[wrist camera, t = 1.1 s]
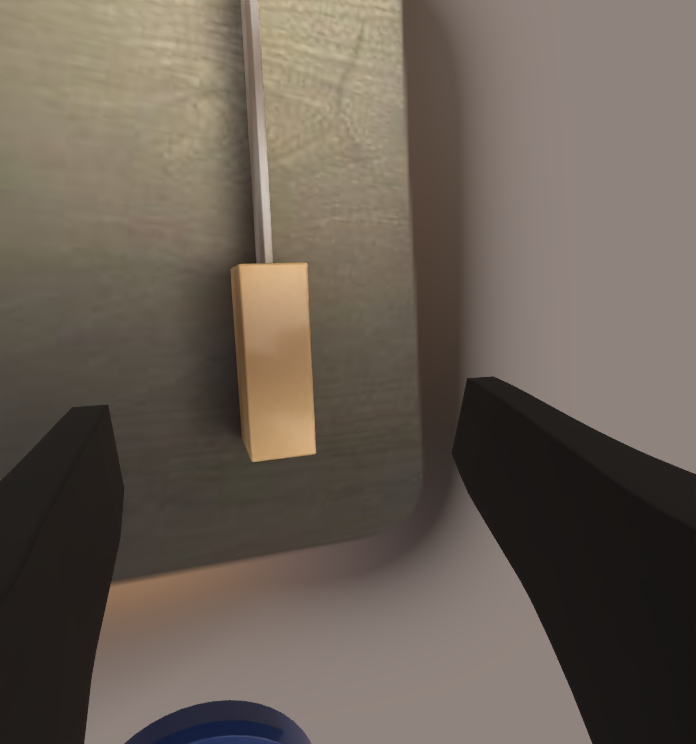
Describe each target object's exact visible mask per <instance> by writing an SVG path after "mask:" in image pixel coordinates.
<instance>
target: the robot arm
mask: <svg viewBox="0 0 696 744" xmlns="http://www.w3.org/2000/svg"><path fill="white" fill-rule="evenodd" d="M452 455H453V458H454V460H455V463H456V465H457V468H458V470H459V473H460V475H461V478H462V480H463V482H464V484H465V487H466V489H467V491H468V493H469V495H470V497H471V499H472V500H473V502H474V504H475V506H476V507H477V509H478V511H479V512H480V514H481V516H482V518H483V519H484V521H485V523H486V524H487V526H488V528H489V529H490V531H491V533H492V534H493V536H494V538H495V539H496V541H497V543H498V544H499V546H500V548H501V549H502V551H503V553H504V554H505V556H506V558H507V559H508V561H509V563H510V564H511V566H512V568H513V569H514V571H515V573H516V574H517V576H518V578H519V579H520V581H521V583H522V585H523V587H524V588H525V590H526V592H527V594H528V596H529V598H530V600H531V602H532V604H533V606H534V608H535V610H536V612H537V614H538V617H539V619H540V621H541V623H542V625H543V627H544V629H545V631H546V634H547V636H548V638H549V640H550V642H551V644H552V647H553V649H554V651H555V654H556V656H557V658H558V660H559V663H560V665H561V667H562V670H563V672H564V674H565V677H566V679H567V681H568V684H569V686H570V688H571V691H572V693H573V695H574V698H575V701H576V703H577V705H578V708H579V711H580V713H581V716H582V718H583V721H584V723H585V726H586V728H587V731H588V733H589V736H590V739H591V741H592V744H696V474H694V473H691V472H688V471H686V470H684V469H681V468H679V467H676V466H674V465H671V464H669V463H666V462H664V461H662V460H659V459H657V458H654V457H652V456H650V455H647V454H645V453H643V452H640V451H638V450H636V449H634V448H632V447H630V446H628V445H625V444H623V443H621V442H619V441H617V440H615V439H613V438H611V437H609V436H607V435H605V434H603V433H601V432H599V431H597V430H595V429H593V428H591V427H589V426H587V425H585V424H583V423H581V422H579V421H578V420H576V419H574V418H572V417H570V416H568V415H566V414H565V413H563V412H560V411H559V410H557V409H555V408H554V407H552V406H550V405H548V404H546V403H544V402H543V401H541V400H539V399H537V398H535V397H533V396H532V395H530V394H528V393H526V392H524V391H522V390H520V389H518V388H517V387H514V386H513V385H511V384H509V383H506V382H504V381H502V380H500V379H498V378H495V377H481V378H468V379H467V382H466V387H465V392H464V397H463V402H462V407H461V412H460V417H459V421H458V426H457V431H456V436H455V441H454V446H453V450H452ZM123 498H124V485H123V480H122V475H121V470H120V464H119V459H118V454H117V449H116V443H115V438H114V433H113V428H112V423H111V417H110V412H109V407H108V405H97V406H84V407H72V408H71V409H70V410H69V411H68V412H67V413H66V414H65V415H64V416H63V417H62V418H61V419H60V420H59V421H58V422H57V423H56V424H55V426H54V427H53V428H52V429H51V430H50V431H49V432H48V433H47V434H46V435H45V436H44V437H43V438H42V439H41V440H40V441H39V443H38V444H37V445H36V446H35V447H34V448H33V449H32V450H31V451H30V452H29V453H28V454H27V455H26V456H25V457H24V458H23V459H22V460H21V461H20V462H19V463H18V464H17V465H16V466H15V467H14V468H13V469H12V470H11V471H10V472H9V473H8V474H7V475H6V476H5V477H4V478H3V479H2V480H1V481H0V744H84V740H85V730H86V722H87V713H88V704H89V695H90V685H91V678H92V672H93V666H94V660H95V654H96V649H97V644H98V640H99V635H100V630H101V626H102V621H103V617H104V611H105V607H106V602H107V598H108V593H109V589H110V584H111V580H112V575H113V570H114V565H115V561H116V556H117V551H118V546H119V541H120V535H121V524H122V512H123Z"/></svg>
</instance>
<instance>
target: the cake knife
mask: <svg viewBox="0 0 696 744" xmlns="http://www.w3.org/2000/svg"><path fill="white" fill-rule="evenodd" d="M240 1H241V18H242V34H243V50H244V67H245V83H246V100H247V116H248V132H249V149H250V165H251V182H252V198H253V215H254V231H255V247H256V264H239V265H237V266H235V267H233V268H231V270H230V272H231V286H232V301H233V316H234V330H235V345H236V360H237V374H238V389H239V403H240V418H241V433H242V439H243V441H244V444H245V446H246V449H247V451H248V454H249V456H250V459H251V461H252V462H256V461H264V460H272V459H280V458H289V457H297V456H305V455H313V454H316V440H315V418H314V397H313V375H312V354H311V332H310V311H309V289H308V268H307V263H305V262H300V263H273V251H272V233H271V216H270V198H269V180H268V162H267V144H266V127H265V109H264V91H263V73H262V55H261V38H260V20H259V2H258V0H240Z"/></svg>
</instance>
